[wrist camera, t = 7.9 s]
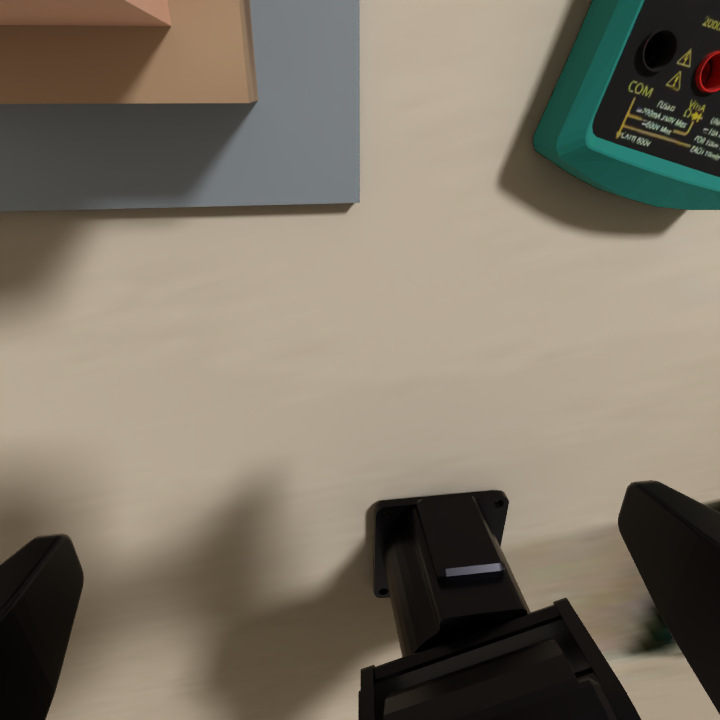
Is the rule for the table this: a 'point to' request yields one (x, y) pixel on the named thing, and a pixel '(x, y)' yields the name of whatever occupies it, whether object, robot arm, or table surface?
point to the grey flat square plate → (206, 131)
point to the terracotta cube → (85, 12)
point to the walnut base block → (134, 59)
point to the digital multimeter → (641, 103)
